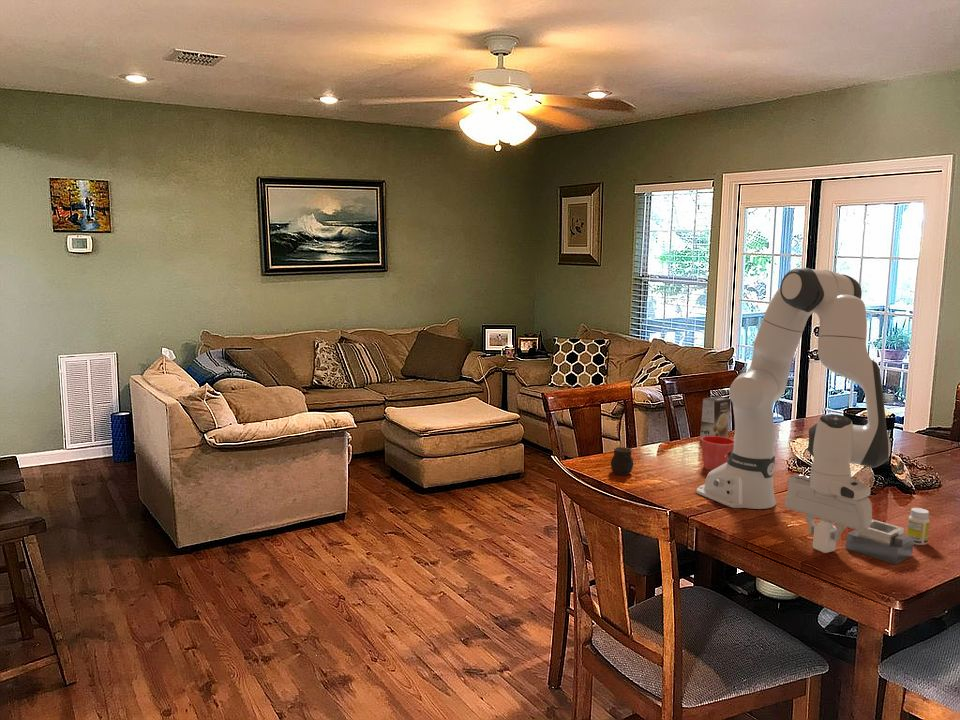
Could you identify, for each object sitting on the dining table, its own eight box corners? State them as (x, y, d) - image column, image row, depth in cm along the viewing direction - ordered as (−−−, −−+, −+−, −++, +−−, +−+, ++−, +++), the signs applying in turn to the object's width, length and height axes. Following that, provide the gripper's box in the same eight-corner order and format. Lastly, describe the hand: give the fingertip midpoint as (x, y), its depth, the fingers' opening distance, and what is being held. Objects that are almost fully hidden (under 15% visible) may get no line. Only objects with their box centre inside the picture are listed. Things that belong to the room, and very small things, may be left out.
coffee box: (714, 443, 291) (717, 401, 288) (699, 440, 295) (702, 398, 293) (728, 440, 296) (731, 398, 294) (713, 436, 301) (716, 395, 299)
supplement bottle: (920, 538, 202) (924, 507, 201) (931, 545, 197) (935, 513, 196) (902, 538, 202) (905, 506, 200) (912, 545, 197) (916, 513, 196)
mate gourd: (615, 468, 257) (617, 438, 255) (637, 472, 253) (639, 443, 251) (606, 473, 251) (608, 443, 249) (628, 478, 247) (630, 447, 245)
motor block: (845, 548, 194) (848, 523, 193) (862, 540, 200) (864, 516, 199) (896, 564, 185) (899, 538, 184) (912, 555, 191) (915, 530, 189)
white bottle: (822, 545, 196) (825, 509, 194) (836, 551, 192) (839, 514, 191) (811, 548, 194) (814, 511, 192) (825, 554, 190) (828, 516, 189)
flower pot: (728, 464, 265) (731, 436, 263) (736, 473, 254) (738, 444, 252) (696, 462, 266) (698, 434, 264) (702, 472, 255) (704, 443, 253)
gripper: (782, 473, 196) (778, 526, 198) (865, 495, 180) (859, 552, 182) (795, 469, 200) (791, 521, 202) (877, 490, 184) (871, 546, 186)
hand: (824, 536), depth 192 cm, fingers closed on white bottle, 4 cm apart
